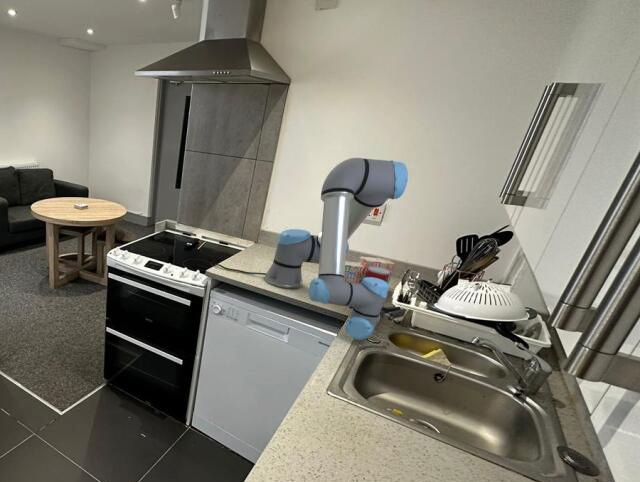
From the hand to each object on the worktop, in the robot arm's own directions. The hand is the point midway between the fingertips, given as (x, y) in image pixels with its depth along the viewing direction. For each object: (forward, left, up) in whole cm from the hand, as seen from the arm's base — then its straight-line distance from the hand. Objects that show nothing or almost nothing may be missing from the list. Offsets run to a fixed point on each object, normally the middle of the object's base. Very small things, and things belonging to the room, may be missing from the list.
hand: (379, 298), depth 150 cm
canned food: (+5, +20, -6) cm, 21 cm away
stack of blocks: (+3, +30, -6) cm, 31 cm away
